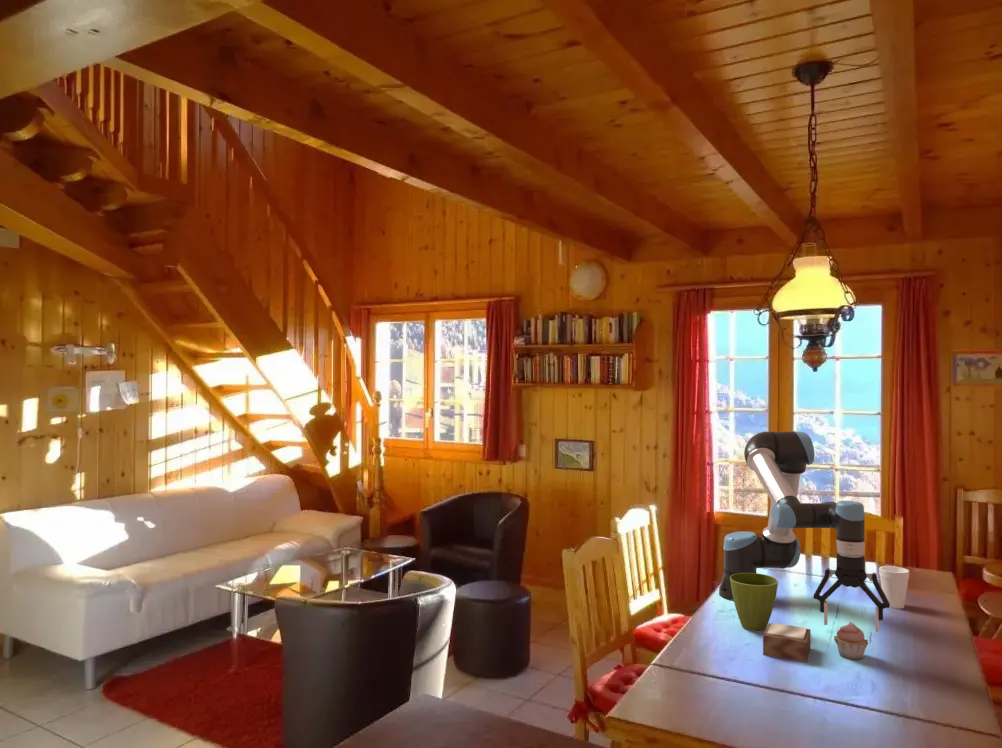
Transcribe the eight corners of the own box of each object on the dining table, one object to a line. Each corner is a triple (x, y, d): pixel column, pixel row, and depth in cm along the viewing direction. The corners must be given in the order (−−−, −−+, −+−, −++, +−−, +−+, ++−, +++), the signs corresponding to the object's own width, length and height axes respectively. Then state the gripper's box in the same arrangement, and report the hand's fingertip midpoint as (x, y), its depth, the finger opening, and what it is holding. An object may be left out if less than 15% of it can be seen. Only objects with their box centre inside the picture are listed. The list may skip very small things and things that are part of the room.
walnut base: (763, 654, 216) (763, 633, 216) (768, 641, 227) (768, 621, 227) (806, 661, 211) (806, 640, 211) (810, 648, 221) (810, 627, 222)
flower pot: (782, 637, 231) (781, 586, 231) (732, 634, 234) (732, 583, 234) (774, 621, 245) (774, 574, 245) (727, 618, 248) (727, 571, 248)
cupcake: (850, 648, 222) (849, 615, 222) (875, 659, 213) (875, 624, 213) (826, 652, 218) (826, 618, 218) (851, 663, 209) (851, 628, 210)
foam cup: (906, 611, 256) (906, 574, 256) (877, 606, 261) (877, 570, 261) (910, 604, 263) (910, 568, 263) (882, 600, 269) (882, 564, 269)
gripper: (803, 552, 218) (804, 624, 218) (898, 561, 207) (899, 637, 206) (805, 547, 225) (806, 617, 224) (898, 556, 213) (899, 629, 213)
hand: (851, 627), depth 215 cm, fingers open, 13 cm apart
